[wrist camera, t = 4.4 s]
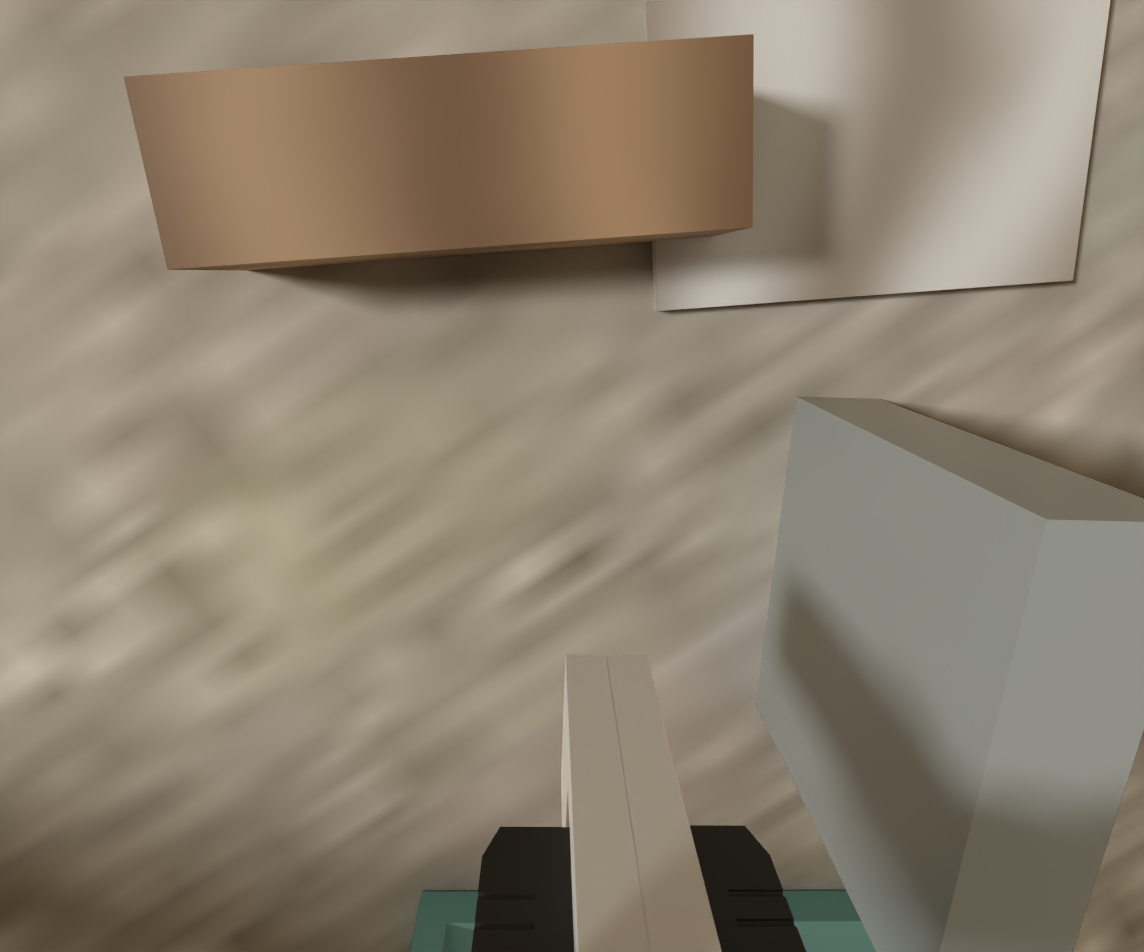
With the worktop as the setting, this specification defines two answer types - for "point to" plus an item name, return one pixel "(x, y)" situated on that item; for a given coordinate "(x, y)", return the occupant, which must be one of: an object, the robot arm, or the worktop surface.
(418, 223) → the turner
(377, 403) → the worktop surface
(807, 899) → the rest
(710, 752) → the worktop surface
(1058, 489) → the tile
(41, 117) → the worktop surface
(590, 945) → the robot arm
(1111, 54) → the worktop surface
